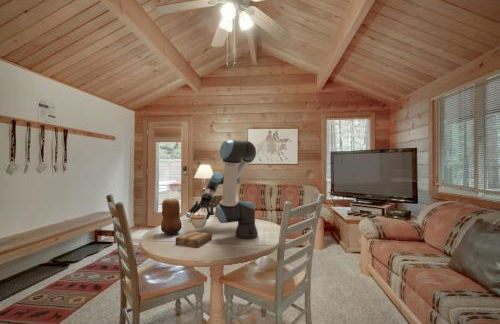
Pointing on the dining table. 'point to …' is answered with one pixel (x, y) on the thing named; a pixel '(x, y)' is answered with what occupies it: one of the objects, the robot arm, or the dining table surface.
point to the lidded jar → (198, 221)
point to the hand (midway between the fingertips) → (196, 222)
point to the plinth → (193, 239)
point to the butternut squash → (171, 216)
